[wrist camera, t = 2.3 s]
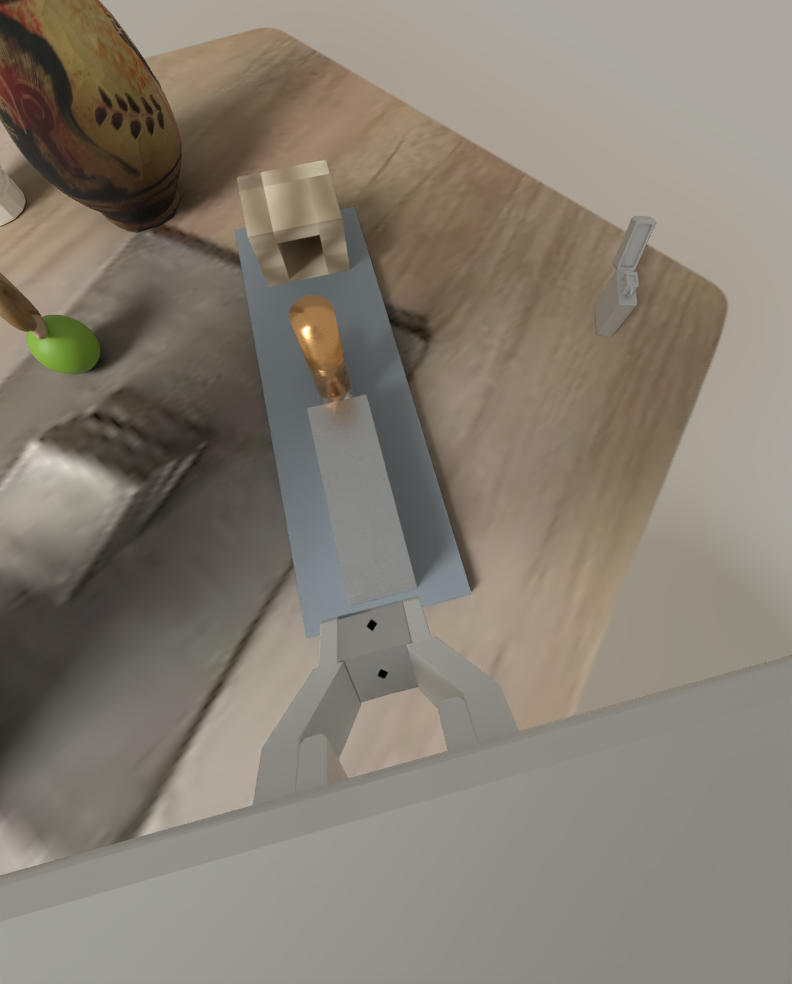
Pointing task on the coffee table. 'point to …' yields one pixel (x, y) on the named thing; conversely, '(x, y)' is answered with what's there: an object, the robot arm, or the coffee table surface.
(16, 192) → the white cup
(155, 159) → the ceramic jug
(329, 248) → the birch socket
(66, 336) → the snail figurine
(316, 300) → the bolt with orange handle
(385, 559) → the grey sleeve
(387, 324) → the slate board
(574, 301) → the coffee table surface
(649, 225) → the lighter
